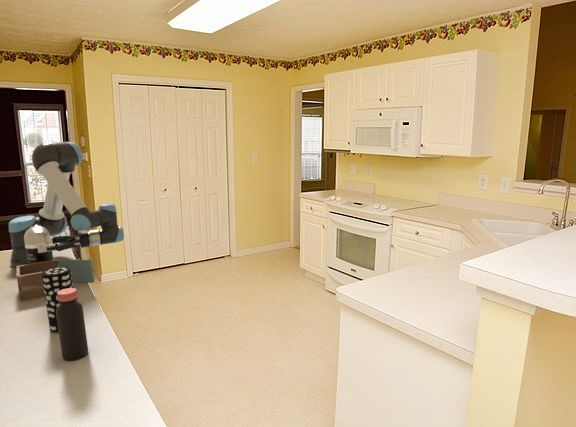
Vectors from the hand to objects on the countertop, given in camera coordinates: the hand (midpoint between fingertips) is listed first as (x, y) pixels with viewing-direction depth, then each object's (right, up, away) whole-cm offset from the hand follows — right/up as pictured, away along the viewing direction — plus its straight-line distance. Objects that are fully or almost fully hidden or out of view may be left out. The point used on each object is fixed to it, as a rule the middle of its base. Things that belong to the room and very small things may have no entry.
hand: (36, 246), depth 179 cm
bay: (+10, -17, -11) cm, 23 cm away
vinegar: (+50, -27, -62) cm, 84 cm away
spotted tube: (+37, -24, -44) cm, 62 cm away
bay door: (+20, -15, -2) cm, 25 cm away
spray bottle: (+1, -15, +4) cm, 15 cm away
